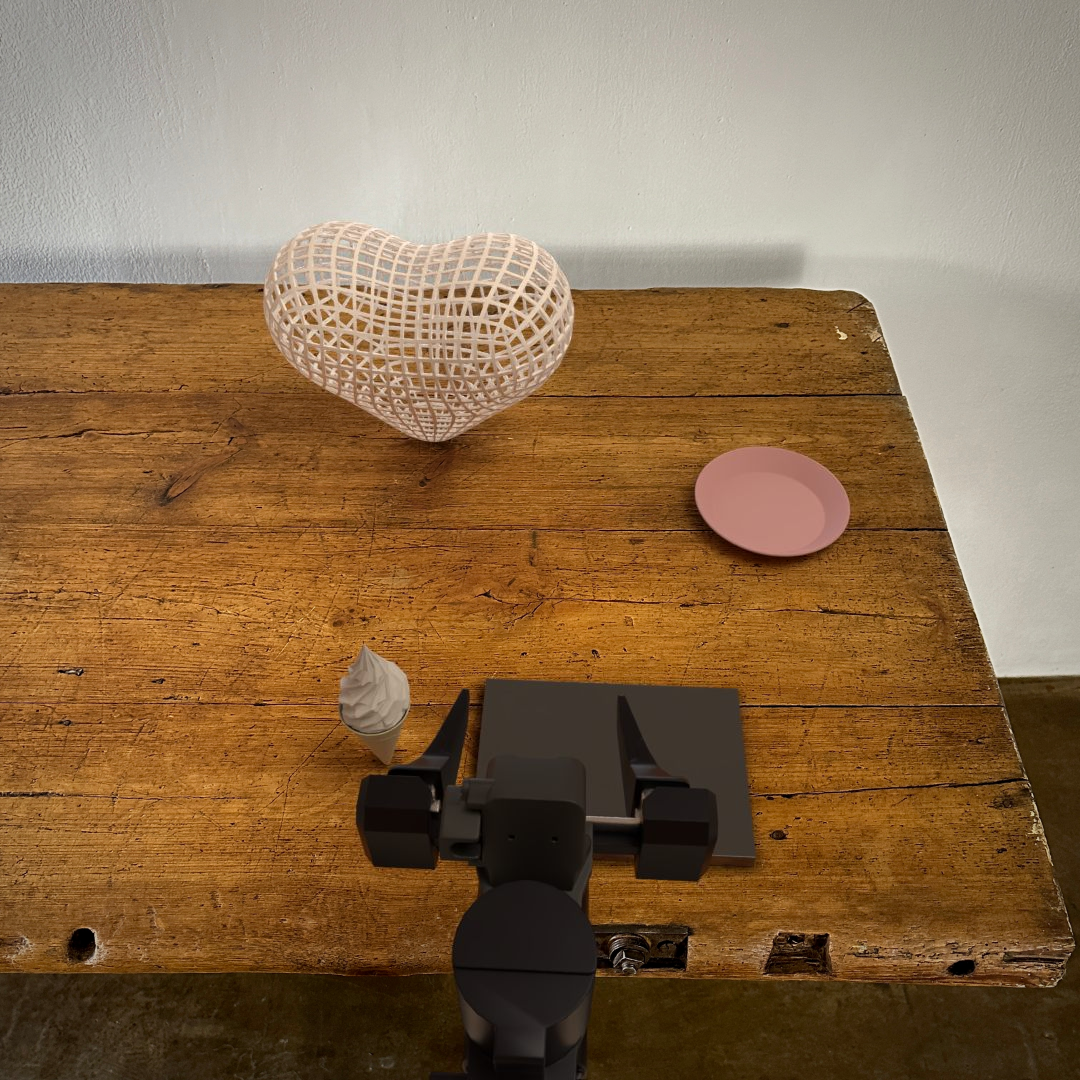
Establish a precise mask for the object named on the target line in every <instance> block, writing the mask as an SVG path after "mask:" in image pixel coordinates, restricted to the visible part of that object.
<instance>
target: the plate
mask: <svg viewBox="0 0 1080 1080" xmlns="http://www.w3.org/2000/svg"><path fill="white" fill-rule="evenodd" d="M694 499H695V504H696V508H697V510H698V512H699V514H700V516H701V517H702V519H703V521H704V522H705V523H706V524H707V525H708V526H709V528H710V529H711V530H713V532H715V533H716V534H717V535H718V536H719V537H721V538H722V539H724V540H726V541H727V542H729V543H730V544H732V545H734V546H736V547H738V548H741V549H743V550H746V551H749V552H752V553H755V554H759V555H762V556H763V555H764V556H769V557H770V556H771V557H783V558H784V557H785V558H787V557H799V556H805V555H809V554H813V553H816V552H819V551H821V550H823V549H825V548H827V547H828V546H830V545H832V544H834V542H836V541H837V540H838V539H839V538H840V537H841V536H842V534H843V533H844V531H845V530H846V528H847V526H848V524H849V521H850V516H851V504H850V499H849V497H848V494H847V491H846V490H845V488H844V486H843V484H842V482H840V480H839V479H838V478H837V477H836V476H835V475H834V474H833V473H832V472H831V471H830V470H829V469H828V468H826V466H823V465H822V464H820V463H819V462H818V461H816V460H814V459H812V458H810V457H808V456H807V455H803V454H801V453H800V452H796V451H793V450H790V449H784V448H780V447H773V446H747V447H746V446H745V447H741V448H736V449H733V450H730V451H727V452H724V453H722V454H720V455H718V456H717V457H715V458H714V459H712V460H711V461H709V463H707V464H706V465H705V466H704V467H703V469H702V470H701V472H700V473H699V475H698V476H697V479H696V482H695V486H694Z"/></svg>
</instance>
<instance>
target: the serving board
mask: <svg viewBox="0 0 1080 1080" xmlns="http://www.w3.org/2000/svg"><path fill="white" fill-rule="evenodd" d="M484 683H485V684H484V685H485V686H484V694H483V705H482V714H481V722H480V723H481V724H480V735H479V744H478V746H479V747H478V753H477V754H478V755H477V756H478V757H477V762H476V763H477V764H476V775H475V778H485V779H486V775H487V767H488V763H489V762H490V760H491V759H492V758H494V757H495V756H497V755H500V754H517V755H518V756H520V757H538V758H555V757H556V756H570V757H574V758H576V759H578V760H579V761H581V762H582V763H583V765H584V766H585V769H586V815H596V816H618V817H627V816H626V807H625V798H624V790H623V781H622V772H621V763H620V755H619V746H618V737H617V698H618V695H625V697H626V699H627V702H628V704H629V706H630V709H631V711H632V713H633V716H634V718H635V720H636V723H637V725H638V727H639V730H640V732H641V734H642V737H643V739H644V741H645V743H646V745H647V747H648V749H649V751H650V753H651V754H652V756H653V758H654V759H655V761H656V763H657V764H658V766H659V767H660V768H661V769H663V770H664V771H665V772H667V773H668V774H670V775H672V776H681V777H684V778H686V779H687V780H688V782H689V784H690V788H702V789H708V790H710V791H711V792H713V793H715V794H716V802H717V814H718V839H717V842H716V845H715V848H714V852H713V855H712V858H711V861H710V864H709V866H730V867H754V864H755V862H756V859H757V853H756V843H755V833H754V825H753V816H752V815H753V814H752V807H751V797H750V789H749V779H748V770H747V760H746V752H745V743H744V734H743V724H742V715H741V707H740V696H739V695H740V694H739V688H732V687H707V686H687V685H686V686H683V685H682V686H681V685H661V684H660V685H658V684H656V685H655V684H637V683H636V684H632V683H612V682H610V683H609V682H586V681H562V680H560V681H558V680H556V681H555V680H539V679H538V680H536V679H535V680H533V679H515V678H514V679H511V678H488V677H487V678H485V682H484ZM593 860H598V861H599V860H601V861H618V862H619V861H621V862H634V855H619V854H596V853H593Z"/></svg>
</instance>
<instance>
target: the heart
mask: <svg viewBox="0 0 1080 1080" xmlns="http://www.w3.org/2000/svg"><path fill="white" fill-rule="evenodd" d="M324 232H328V233H324ZM318 239H322V241H321V242H317V241H318ZM328 240H333V242H332V243H329V242H328ZM306 241H307V243H304V244H302V242H306ZM340 241H346V242H349V246H348V245H344V244H340ZM327 242H328V243H327ZM374 243H375V244H374ZM354 244H356V246H354ZM377 244H378V245H377ZM492 244H493V245H499V246H492ZM478 245H484V246H478ZM500 245H501V246H500ZM362 246H364V247H362ZM475 246H476V247H475ZM385 247H387V248H385ZM388 248H389V249H388ZM316 252H318V253H316ZM323 252H330V254H326V253H323ZM339 252H350V257H345V256H342V255H339ZM496 252H498V253H502V257H500V256H494V255H493V256H492V254H491V253H496ZM421 254H422V255H421ZM423 254H425V255H423ZM426 254H427V255H426ZM299 255H300V256H299ZM359 255H362V256H365V257H366V262H365V261H361V260H359ZM453 255H456V256H453ZM449 256H451V257H449ZM513 256H516V257H517V259H512V258H513ZM371 258H372V259H374V262H373V264H372V263H371ZM400 258H403V259H405V261H403V260H401V259H400ZM315 259H317V263H314V262H315V261H314V260H315ZM523 259H524V260H523ZM538 259H539V260H538ZM323 260H330V261H328V262H327V261H326V262H323ZM300 261H302V266H300V267H296V263H297V262H300ZM415 261H417V262H418V263H415ZM472 261H473V263H474V265H470V266H466V267H465V266H464V263H465V262H472ZM486 261H487V262H486ZM379 262H380V266H379ZM385 263H387V264H389V265H390V264H391V265H392V267H391V270H390V269H387V268H385ZM455 263H457V265H456V268H450V265H451V264H455ZM509 265H512V266H515V267H518V268H519V274H517V273H514V272H512V271H509V270H510V269H509ZM438 266H439V267H438ZM496 266H501V268H496ZM286 267H287V272H286ZM339 267H350V271H347V270H342V269H340V268H339ZM398 267H402V268H403V267H404V268H405V269H406V272H401V271H400V272H399V271H398ZM437 267H438V269H437ZM358 268H359V269H365V275H362V274H359V273H357V269H358ZM429 268H432V270H431V269H429ZM445 268H446V269H445ZM539 269H540V270H542V271H543V272H545V273H544V274H545V276H544V275H542V274H541V273H540V272H539ZM370 271H372V274H371V277H370ZM412 271H415V272H418V273H412ZM525 271H526V273H525ZM279 272H280V276H279V277H278V273H279ZM471 272H474V275H473V276H472V279H467V274H466V273H471ZM482 272H485V273H490V276H491V277H490V278H485V279H482V277H481V273H482ZM315 273H319V276H320V277H319V278H320V280H319V281H316V275H315ZM325 273H326V274H330V277H331V278H327V279H325ZM377 273H379V279H377V278H376V277H377ZM302 274H304V277H305V278H304V279H305V280H306V284H305V285H299V283H298V279H297V276H298V275H302ZM460 274H462V279H463V280H459V278H460V276H461V275H460ZM496 274H497V276H496ZM384 275H385V276H388V277H389V281H388V282H386V281H383V280H384ZM452 275H453V277H452ZM532 275H533V277H532ZM340 276H345V277H340ZM442 276H447V279H448V281H447V282H441V279H442ZM347 277H349V278H347ZM432 277H433V281H434V284H433V283H427V282H426V278H432ZM287 279H288V280H289V284H290V285H289V286H290V288H288V284H287V282H286V280H287ZM415 279H419V280H415ZM397 280H400V281H402V282H404V285H401V284H397ZM511 281H520V284H519V286H518V288H515V287H512V286H511V285H512V284H511ZM341 282H344V283H350V286H349V288H346V287H342V286H341ZM501 282H506V285H505V284H502V283H501ZM330 283H331V285H327V284H330ZM555 283H556V284H555ZM280 284H282V287H283V290H284V291H283V292H282V293H281V291H280V287H279V285H280ZM357 285H360V286H364V287H363V291H359V290H357ZM527 285H528V286H529V287H531V288H532V289H533V290H534V293H530V292H526V286H527ZM540 285H544V286H546V287H545V289H543V288H542V287H540ZM477 286H479V292H480V296H481V297H472V295H473V293H474V290H475V288H476V287H477ZM484 287H491V288H490V290H489V292H488V295H487V296H485V290H484ZM368 288H370V293H367V291H368ZM457 289H464V291H465V296H463V297H459V296H458V297H455V291H456V290H457ZM498 289H500V290H503V291H506V292H507V294H506V293H505V294H499V291H498ZM318 290H323V291H326V294H327V296H326V297H324V298H322V299H320V298H319V294H318ZM375 290H377V292H376V295H375ZM398 290H402V291H403V292H402V291H398ZM427 290H432V294H431V298H427V297H425V291H427ZM440 290H448V294H447V298H446V297H445V298H440ZM307 291H309V292H310V293H311V294H312V297H313V302H314V303H313V304H308V302H307V301H306V299H305V297H304V296H303V293H305V292H307ZM331 291H332V292H331ZM410 291H417V295H412V294H410ZM382 292H384V293H387V296H386V297H387V298H385V297H382V296H381V293H382ZM552 292H553V294H554V296H555V297H556V299H555V302H554V301H553V299H552V298H551V294H552ZM273 293H274V295H275V300H274V296H273ZM340 293H341V294H342V295H344V296H346V297H347V298H346V299H345V300H344V302H343V303H342V304H341V303H340V301H339V299H338V295H340ZM395 296H397V297H401V298H402V300H395ZM562 296H563V297H562ZM572 296H573V295H572V292H571V289H570V283H569V281H568V278H567V276H566V275H565V274H564V272H563V271H562V269H561V267H560V265H559V264H558V263H557V261H556V260H555V258H554V257H553V256H552V255H551V254H550V253H549V252H548V251H546V250H545V249H544V248H542V247H541V245H538V244H537V243H536V242H535V241H532V240H530V239H528V238H525V237H523V236H519V235H516V234H513V233H507V232H485V233H479V234H473V235H472V234H471V235H468V236H463V237H460V238H457V239H453V240H449V241H445V242H440V243H435V244H433V243H432V244H421V243H417V242H411V241H409V240H406V239H404V238H402V237H399V236H397V235H395V234H392V233H391V232H388V231H386V230H383V229H381V228H379V227H377V226H373V225H370V224H367V223H363V222H357V221H349V220H348V221H347V220H331V221H325V222H322V223H317V224H314V225H312V226H309V227H307V228H305V229H303V230H302V231H300V232H299V233H297V234H296V235H295V236H294V237H292V238H291V239H289V240H288V241H287V242H286V243H285V244H283V246H282V247H281V248H280V249H279V251H278V252H277V254H276V255H275V257H274V259H273V261H272V263H271V265H270V266H269V269H268V271H267V274H266V276H265V279H264V286H263V304H262V305H263V314H264V320H265V323H266V326H267V328H268V331H269V333H270V336H271V339H272V340H273V342H274V344H275V346H276V348H277V349H278V351H279V352H280V354H282V356H283V357H284V358H285V360H287V362H288V363H289V364H290V365H291V366H292V367H293V368H294V369H295V370H296V371H297V372H299V373H300V374H302V376H304V377H305V378H306V379H308V380H309V381H311V382H313V383H314V384H316V385H317V386H319V387H320V388H322V389H324V390H325V391H328V392H330V393H331V394H333V395H335V396H337V397H339V398H341V399H344V400H345V401H347V402H349V403H351V404H353V405H354V406H356V407H359V408H360V409H361V410H363V411H365V412H366V413H368V414H370V415H372V416H374V417H375V418H377V419H379V420H381V422H384V423H386V424H388V425H389V426H391V427H392V428H394V429H396V430H398V431H399V432H400V433H403V434H404V435H407V436H409V437H411V438H414V439H417V440H420V441H424V442H429V443H430V442H431V443H432V442H433V443H436V442H437V443H438V442H444V441H448V440H450V439H453V438H456V437H457V436H460V435H461V434H463V433H465V432H467V431H469V430H470V429H472V428H474V427H476V426H477V425H479V424H481V423H483V422H485V421H486V420H488V419H489V418H491V417H493V416H495V415H497V414H499V413H501V412H502V411H504V410H507V409H508V408H510V407H512V406H514V405H516V404H517V403H519V402H521V401H523V400H524V399H526V398H528V397H529V396H530V395H532V394H533V393H534V392H535V391H537V390H538V389H539V388H541V387H542V386H543V385H544V384H545V383H546V382H547V381H548V380H549V378H551V376H552V375H553V374H554V373H555V372H556V370H557V369H558V368H559V366H560V365H561V364H562V361H563V359H564V357H565V355H566V353H567V350H568V349H569V346H570V342H571V340H572V337H573V330H574V321H575V305H574V301H573V298H572ZM519 298H521V299H522V308H523V309H521V310H519V309H517V308H515V304H516V302H517V301H518V299H519ZM293 299H294V300H293ZM351 299H352V309H350V308H347V307H346V306H347V304H348V303H349V302H350V300H351ZM366 299H368V300H366ZM369 299H370V300H369ZM506 299H507V300H508V301H509V303H504V302H500V300H506ZM330 300H332V302H333V305H334V306H333V305H324V304H325V303H327V302H329V301H330ZM409 300H411V301H409ZM288 302H289V304H290V305H291V308H287V306H286V304H287V303H288ZM357 302H359V305H358V307H357ZM379 302H382V303H386V305H382V304H380V303H379ZM527 302H528V303H529V304H531V305H532V306H531V307H527ZM472 304H482V309H481V312H480V314H479V315H474V314H473V307H472V306H473V305H472ZM363 305H367V306H369V312H364V311H361V310H362V308H363ZM393 305H398V306H401V309H400V308H395V307H393ZM441 305H445V306H444V307H445V308H444V313H443V315H441V311H440V310H441V309H440V308H441V307H440V306H441ZM457 305H462V308H461V311H460V315H457V313H458V312H457ZM490 305H491V306H495V307H496V309H497V313H498V314H492V315H490V314H489V313H488V308H489V306H490ZM424 306H429V307H430V308H429V313H424ZM548 306H550V307H551V308H552V310H553V311H552V312H551V314H550V316H549V315H548V313H547V312H546V311H547V308H548ZM408 307H415V311H410V310H408ZM451 308H452V309H451ZM450 309H451V310H452V315H450V311H451V310H450ZM502 309H505V310H504V311H503V312H502ZM313 310H315V312H316V313H315V312H314V311H313ZM322 310H323V311H324V312H325V313H326V314H327V316H328V317H327V318H325V319H324V320H323V317H322ZM377 310H383V311H386V313H385V316H382V315H377V314H376V313H377V312H376V311H377ZM467 310H468V315H466V314H467ZM280 311H282V314H281V315H280ZM331 311H333V313H332V312H331ZM292 313H295V314H296V315H295V316H294V317H293V318H292V316H291V314H292ZM308 313H309V314H310V315H311V316H312V317H313V318H314V320H315V321H316V322H317V324H310V323H309V322H308V320H307V319H306V317H305V315H307V314H308ZM340 313H346V314H349V315H351V316H352V318H351V319H350V320H349V321H348V322H347V324H345V323H344V322H342V321H341V320H340ZM392 313H395V314H399V315H400V318H394V317H391V314H392ZM536 314H537V316H536ZM407 316H413V317H414V319H407ZM517 316H518V317H519V318H522V319H523V321H522V322H521V323H520V324H519V322H518V318H517ZM535 316H536V317H535ZM509 317H512V321H513V323H514V327H515V329H514V328H512V327H509V326H508V325H506V324H505V320H506V319H507V318H509ZM368 318H369V319H368ZM424 318H425V319H424ZM426 318H427V319H426ZM497 319H499V321H494V320H497ZM540 319H542V320H543V321H544V322H545V324H544V325H543V326H542V327H541V328H540V329H539V328H538V326H537V325H536V322H537V321H539V320H540ZM285 320H287V321H288V324H286V323H285ZM299 320H300V322H301V323H297V322H298V321H299ZM358 320H359V321H362V322H364V323H366V326H365V328H364V329H363V331H358V323H357V322H358ZM374 320H379V321H383V322H384V323H380V322H376V321H374ZM331 321H333V322H335V326H329V325H328V326H327V324H328V323H330V322H331ZM564 321H565V324H564ZM390 323H396V324H400V326H396V325H390ZM441 323H442V330H441ZM448 323H453V324H452V325H453V330H448ZM464 323H469V326H470V332H465V331H464V332H463V328H464V327H463V326H464ZM475 323H476V328H475ZM406 324H412V325H414V327H407V326H406ZM423 324H424V325H425V324H428V329H427V328H423ZM434 324H435V329H434V328H433V327H434ZM482 324H483V325H485V328H486V333H480V332H481V328H482ZM351 326H352V327H353V329H352V328H350V327H351ZM491 326H495V330H494V332H493V333H492V331H491ZM341 327H342V328H341ZM374 327H377V328H381V329H382V332H381V335H380V334H375V333H374ZM529 327H530V328H531V330H532V332H533V333H534V335H532V336H530V337H529V338H527V339H525V336H524V334H523V332H522V331H524V330H526V329H527V328H529ZM500 329H501V332H500ZM308 330H309V332H308ZM389 330H390V331H399V337H397V336H390V331H389ZM295 331H297V333H298V334H299V335H300V336H301V337H302V338H301V337H298V336H297V335H294V334H295ZM324 331H325V332H328V333H329V334H330V335H331V336H333V338H332V339H330V340H329V341H328V340H327V339H325V334H324V333H325V332H324ZM368 332H369V333H368ZM405 332H414V337H413V338H408V337H407V338H405ZM549 332H551V333H549ZM423 333H426V334H427V336H428V337H427V338H423ZM548 333H549V335H548V336H547V337H546V338H545V336H546V335H547V334H548ZM433 334H434V335H435V338H433ZM343 335H349V336H353V343H352V344H350V343H349V342H348V341H346V340H345V339H343V338H342V336H343ZM313 336H316V337H317V338H318V339H319V343H318V342H313V340H311V338H313ZM447 336H453V338H447ZM508 336H509V337H508ZM462 337H469V338H462ZM501 337H503V339H504V341H502V340H501V341H500V340H496V339H497V338H501ZM479 338H481V339H479ZM482 338H483V339H482ZM516 338H517V339H518V340H519V341H520V343H518V344H516V345H513V346H512V345H511V343H512V341H513V340H514V339H516ZM375 340H379V343H378V342H376V341H375ZM551 340H553V343H552V344H551V345H550V346H549V345H548V343H549V342H550V341H551ZM362 341H365V342H367V343H369V351H364V350H359V349H358V345H360V343H361V342H362ZM390 342H394V343H390ZM538 342H539V343H540V344H539V345H537V347H535V348H534V349H533V350H531V348H532V347H533V346H534V345H535V344H536V343H538ZM334 343H336V346H335V345H334V346H333V344H334ZM342 343H343V345H345V346H346V347H347V348H345V347H342V346H341V345H342ZM295 344H296V345H297V347H298V348H296V347H295ZM447 344H453V346H451V345H447ZM462 344H468V345H469V344H470V348H464V347H462ZM478 345H488V352H489V353H488V352H483V351H480V350H478ZM374 346H375V347H376V348H374ZM495 346H505V347H506V349H504V350H501V351H498V352H496V351H495ZM309 348H314V349H315V350H316V351H317V352H318V354H317V356H315V355H314V354H313V353H312V352H311V351H310V349H309ZM394 348H399V353H400V355H396V354H389V352H390V349H394ZM405 348H414V356H408V355H407V356H406V355H405ZM423 348H428V356H429V357H423ZM434 349H435V357H434ZM441 350H442V357H440V351H441ZM448 350H451V351H452V357H448ZM540 350H542V352H541V353H539V354H538V355H537V356H534V355H535V354H536V353H537V352H539V351H540ZM327 351H329V352H334V353H336V360H335V359H334V358H332V357H331V356H330V355H329V354H327ZM379 351H380V353H378V352H379ZM462 352H463V353H469V354H470V356H469V357H463V355H462ZM524 352H525V355H524V356H523V355H522V357H520V358H517V356H519V355H520V354H522V353H524ZM552 352H553V353H552ZM349 355H352V357H353V358H352V359H353V360H352V359H350V358H349V357H348V356H349ZM359 356H360V357H361V358H363V359H362V360H361V362H359V363H358V362H357V360H358V358H357V357H359ZM478 356H481V357H478ZM374 359H382V360H384V361H385V363H384V365H383V366H381V367H380V368H379V369H378V368H377V366H376V365H375V364H374ZM344 360H345V361H346V362H348V364H342V362H344ZM390 360H392V361H390ZM505 360H509V364H508V365H506V366H504V367H503V366H502V364H501V363H500V362H502V361H505ZM525 360H527V361H526V362H524V363H522V362H523V361H525ZM302 361H303V362H302ZM540 362H541V365H540V366H539V363H540ZM304 363H305V364H304ZM357 363H358V364H357ZM366 363H368V366H369V367H363V366H364V365H365V364H366ZM407 363H409V364H410V363H415V364H416V366H415V367H416V371H417V372H410V371H409V369H408V364H407ZM423 363H427V364H428V363H429V364H430V368H431V373H429V372H427V373H426V372H424V364H423ZM484 363H485V365H484V366H483V368H482V369H480V365H479V364H484ZM520 363H522V364H520ZM440 364H443V365H444V369H445V373H446V374H442V373H440ZM473 364H474V366H473ZM396 365H401V366H400V367H401V371H399V370H398V371H397V370H394V369H393V367H392V366H396ZM450 365H451V367H450ZM490 365H492V370H493V372H491V373H487V371H488V369H489V368H490ZM318 366H320V367H321V369H319V368H318ZM456 366H457V367H458V368H459V372H460V374H455V369H456ZM465 369H466V370H465ZM498 370H499V371H498ZM336 371H337V372H336ZM471 371H472V372H475V373H476V374H470V372H471ZM327 372H328V373H327ZM342 372H343V373H345V374H346V375H348V377H344V376H343V377H342ZM525 372H527V375H525ZM358 373H361V374H362V375H363V376H364V377H365V378H366V379H367V380H360V379H359V378H358ZM511 374H512V375H511ZM508 375H511V376H510V377H508ZM377 376H378V377H379V378H380V379H381V380H382V382H378V381H377V382H376V381H374V379H375V378H376V377H377ZM384 376H385V378H384ZM391 376H392V377H393V378H394V379H393V380H391ZM500 377H503V379H504V381H503V382H502V383H501V379H500ZM518 377H519V378H518ZM412 378H416V379H418V381H419V385H420V386H418V385H414V384H413V381H412ZM425 379H428V380H433V381H434V387H433V386H432V387H430V386H426V380H425ZM533 379H534V380H533ZM440 380H442V381H447V387H446V388H444V387H442V385H441V383H440ZM484 380H485V381H486V382H487V383H486V385H485V383H484ZM531 380H532V381H531ZM400 381H402V382H403V383H402V384H401V383H400ZM454 381H456V382H459V383H461V384H460V386H459V388H457V386H456V385H455V382H454ZM470 381H475V382H474V383H472V382H470ZM342 383H343V384H344V385H343V384H342ZM495 383H496V385H495ZM358 385H359V386H360V387H361V388H360V389H359V388H358ZM478 386H479V387H478ZM464 387H465V388H464ZM375 388H376V389H377V391H379V392H375ZM505 388H506V390H504V389H505ZM393 389H395V390H400V391H401V394H396V393H395V391H394V390H393ZM385 392H387V393H385ZM420 392H422V396H417V395H418V394H417V393H420ZM490 392H491V393H490ZM429 393H434V397H430V396H429ZM411 394H413V396H412V395H411ZM462 394H463V395H462ZM464 394H465V395H466V394H467V395H466V397H465V396H464ZM475 394H477V396H476V395H475ZM438 395H439V396H440V398H438ZM449 395H451V396H454V398H453V399H452V398H448V397H449ZM382 398H384V399H386V400H387V401H384V399H382ZM403 401H406V402H407V403H404V402H403ZM413 401H414V402H416V403H414V402H413ZM487 402H489V403H487ZM455 404H457V405H459V404H460V405H459V406H455ZM475 404H476V405H475ZM383 406H384V407H383ZM401 408H403V409H404V410H403V409H401ZM417 410H419V411H417ZM424 410H425V411H426V412H425V411H424ZM423 411H424V412H423ZM437 411H440V413H439V412H438V413H437ZM444 412H448V413H444ZM425 417H427V418H425Z"/></svg>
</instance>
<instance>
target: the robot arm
mask: <svg viewBox="0 0 1080 1080" xmlns="http://www.w3.org/2000/svg"><path fill="white" fill-rule="evenodd" d="M470 702H471V693H470V688H466V687H465V688H464V687H463V688H462V689H461V690H460V692H459V694H458V695H457V697H456V699H455V701H454V703H453V705H452V706H451V708H450V710H449V712H448V713H447V715H446V716H445V719H444V720H443V722H442V724H441V726H440V728H439V729H438V731H437V733H436V735H435V737H434V738H433V739H432V741H431V742H430V743H429V744H428V746H427V747H426V749H425V750H424V752H422V754H421V755H420V756H419V757H417V758H416V759H414V760H412V761H410V762H408V763H405V764H404V763H403V764H402V763H396V764H393V765H391V766H390V768H389V769H388V770H387V773H386V774H375V773H374V774H373V773H372V774H371V773H370V774H368V775H366V776H364V777H362V778H361V779H360V783H359V789H358V795H357V799H356V804H355V825H356V828H357V832H358V835H359V839H360V842H361V846H362V848H363V852H364V855H365V857H366V858H367V860H368V861H369V862H370V863H371V864H372V866H373V867H374V868H387V869H404V870H405V869H407V870H428V871H435V870H436V869H437V866H438V863H439V860H441V861H443V862H444V861H447V862H467V864H468V865H467V866H468V867H474V868H475V873H476V876H477V880H478V881H477V882H478V883H477V892H476V893H477V894H476V898H475V900H474V901H473V902H472V904H471V905H470V906H469V907H468V908H467V910H466V911H465V912H464V913H463V915H462V917H461V919H460V921H459V923H458V925H457V927H456V930H455V933H454V937H453V941H452V945H451V965H452V972H453V978H454V983H455V989H456V994H457V999H458V1006H459V1011H460V1016H461V1020H462V1025H463V1029H464V1039H463V1042H464V1043H463V1051H462V1063H461V1067H462V1069H463V1071H464V1072H453V1071H452V1072H449V1071H448V1072H447V1071H433V1070H432V1071H430V1073H429V1080H588V1079H587V1078H585V1077H586V1076H587V1074H588V1025H589V1022H590V1019H591V1011H592V1004H593V998H594V990H595V984H596V983H595V982H596V975H597V969H598V955H599V952H598V944H597V938H596V934H595V930H594V928H593V926H592V923H591V921H590V916H589V915H590V881H591V877H592V874H593V864H594V859H593V853H596V854H619V855H634V861H633V871H634V878H635V880H645V881H647V880H648V881H668V882H670V881H671V882H690V883H691V882H692V883H698V882H699V881H700V880H701V879H702V878H703V876H704V875H705V874H707V872H708V871H709V869H710V868H709V867H710V865H709V864H710V861H711V858H712V855H713V852H714V848H715V845H716V842H717V839H718V814H717V802H716V794H715V793H713V792H711V791H710V790H708V789H702V788H690V784H689V782H688V780H687V779H686V778H684V777H681V776H672V775H670V774H668V773H667V772H665V771H664V770H663V769H661V768H660V767H659V766H658V764H657V763H656V761H655V759H654V758H653V756H652V754H651V753H650V751H649V749H648V747H647V745H646V743H645V741H644V739H643V737H642V734H641V732H640V730H639V727H638V725H637V723H636V720H635V718H634V716H633V713H632V711H631V709H630V706H629V704H628V702H627V699H626V697H625V695H618V698H617V737H618V746H619V755H620V763H621V772H622V781H623V790H624V798H625V807H626V816H627V817H618V816H596V815H586V769H585V766H584V765H583V763H582V762H581V761H579V760H578V759H576V758H574V757H570V756H556V757H555V758H538V757H520V756H518V755H517V754H500V755H497V756H495V757H494V758H492V759H491V760H490V762H489V763H488V767H487V775H486V779H485V778H476V777H463V779H462V784H459V785H457V781H458V780H457V779H458V775H459V771H460V770H459V769H460V765H461V760H462V754H463V749H464V745H465V741H466V740H465V739H466V735H467V730H468V725H469V716H470Z"/></svg>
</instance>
